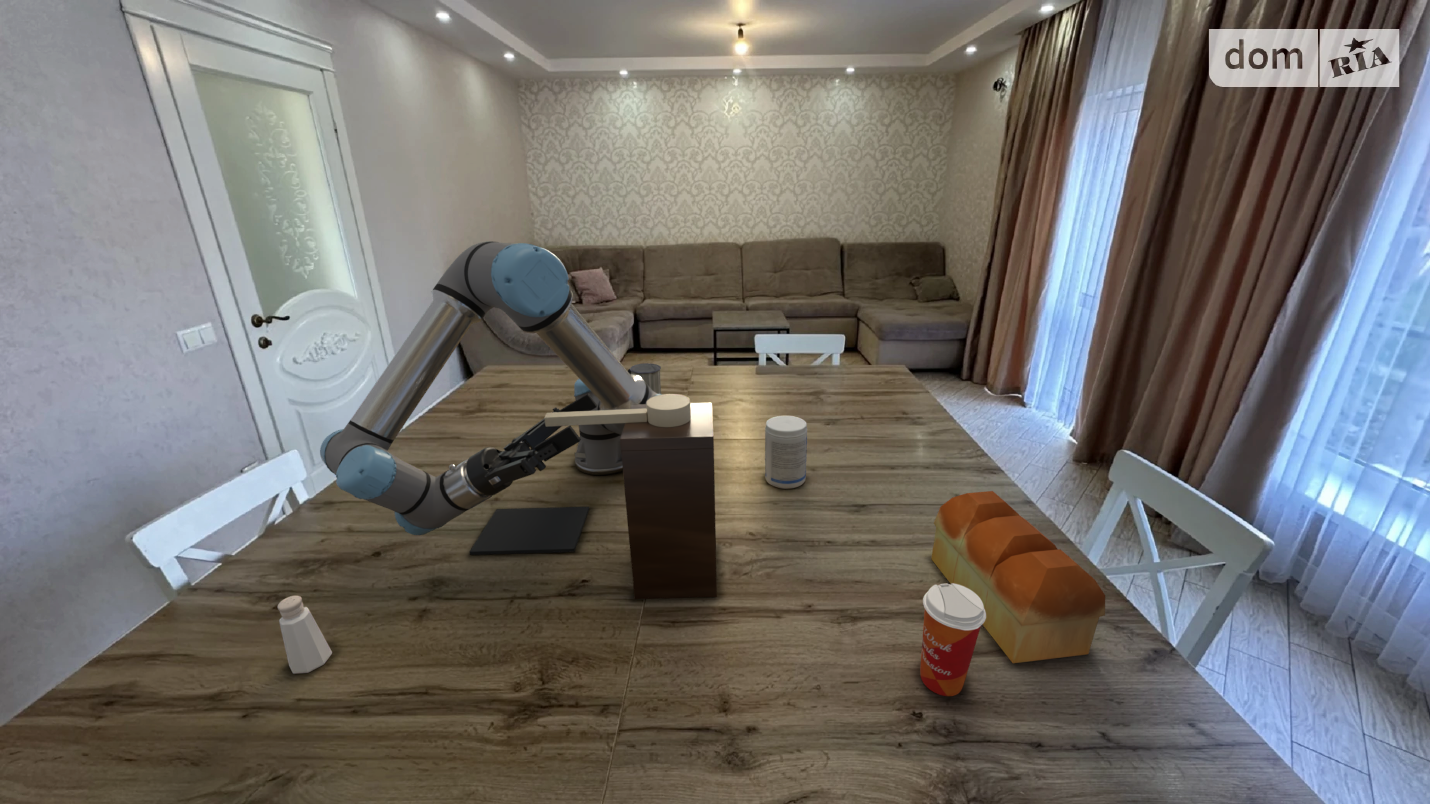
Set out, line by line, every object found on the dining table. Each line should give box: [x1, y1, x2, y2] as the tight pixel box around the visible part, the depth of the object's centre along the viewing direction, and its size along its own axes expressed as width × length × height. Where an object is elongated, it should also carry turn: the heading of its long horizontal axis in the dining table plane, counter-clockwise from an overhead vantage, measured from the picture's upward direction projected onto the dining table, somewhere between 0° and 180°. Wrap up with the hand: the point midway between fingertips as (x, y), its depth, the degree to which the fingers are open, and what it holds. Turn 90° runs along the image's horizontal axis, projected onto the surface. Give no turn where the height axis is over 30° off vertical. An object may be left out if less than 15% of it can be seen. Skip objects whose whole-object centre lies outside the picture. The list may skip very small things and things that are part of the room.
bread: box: [930, 490, 1106, 664], centre depth 88 cm, size 25×12×15 cm, turn 7°
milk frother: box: [627, 362, 662, 394], centre depth 166 cm, size 14×16×15 cm
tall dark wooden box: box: [620, 402, 718, 600], centre depth 94 cm, size 14×14×30 cm
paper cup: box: [919, 583, 986, 697], centre depth 74 cm, size 8×8×14 cm
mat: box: [469, 506, 590, 556], centre depth 112 cm, size 15×20×1 cm
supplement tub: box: [764, 415, 808, 490], centre depth 127 cm, size 10×10×15 cm
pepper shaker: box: [277, 595, 333, 675], centre depth 80 cm, size 5×5×11 cm
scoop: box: [543, 393, 691, 427], centre depth 88 cm, size 7×23×3 cm, turn 94°
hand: (584, 415), depth 88 cm, fingers open, 13 cm apart
